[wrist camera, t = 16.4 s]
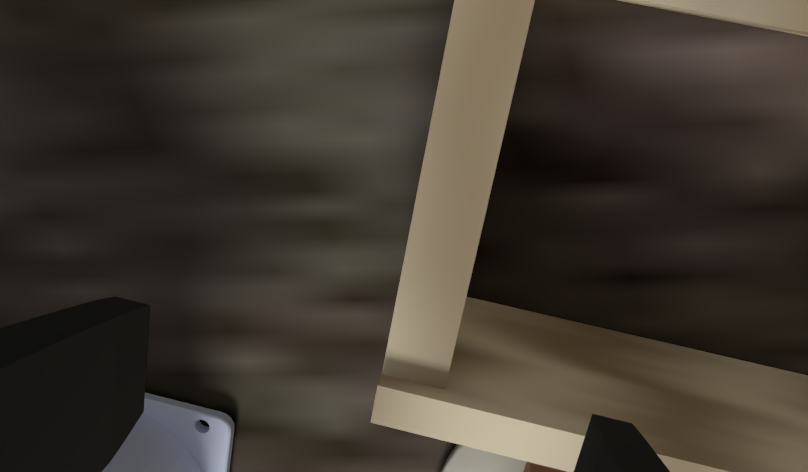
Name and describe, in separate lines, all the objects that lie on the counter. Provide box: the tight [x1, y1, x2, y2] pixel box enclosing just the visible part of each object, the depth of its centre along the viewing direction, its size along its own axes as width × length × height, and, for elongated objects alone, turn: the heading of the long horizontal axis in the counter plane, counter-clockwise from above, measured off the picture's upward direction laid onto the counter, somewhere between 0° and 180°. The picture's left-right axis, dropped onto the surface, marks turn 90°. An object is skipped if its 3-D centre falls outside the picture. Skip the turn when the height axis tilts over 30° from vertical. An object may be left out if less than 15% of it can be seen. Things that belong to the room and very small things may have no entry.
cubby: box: [371, 0, 808, 472], centre depth 17 cm, size 14×11×6 cm
